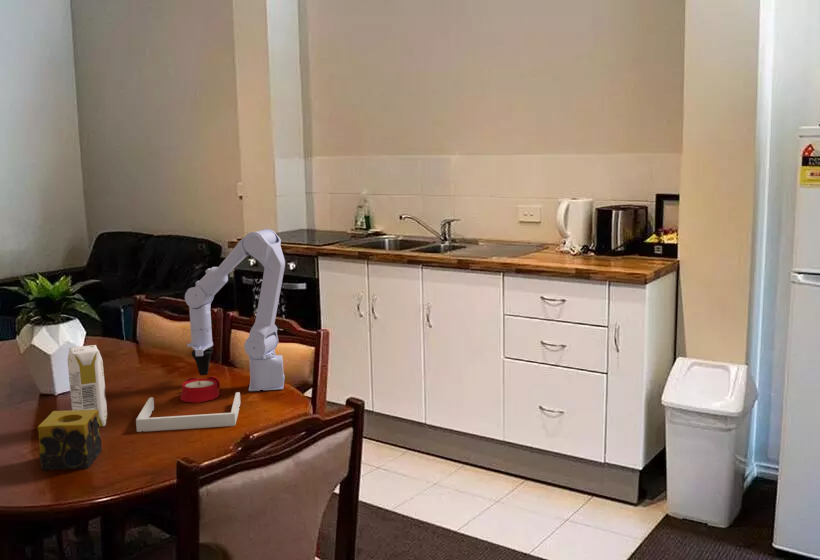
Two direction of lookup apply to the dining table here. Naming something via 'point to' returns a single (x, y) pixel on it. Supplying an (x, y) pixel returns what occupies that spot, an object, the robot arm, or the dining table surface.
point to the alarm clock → (200, 389)
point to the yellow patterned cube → (69, 440)
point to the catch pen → (185, 419)
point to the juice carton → (87, 381)
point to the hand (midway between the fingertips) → (203, 374)
